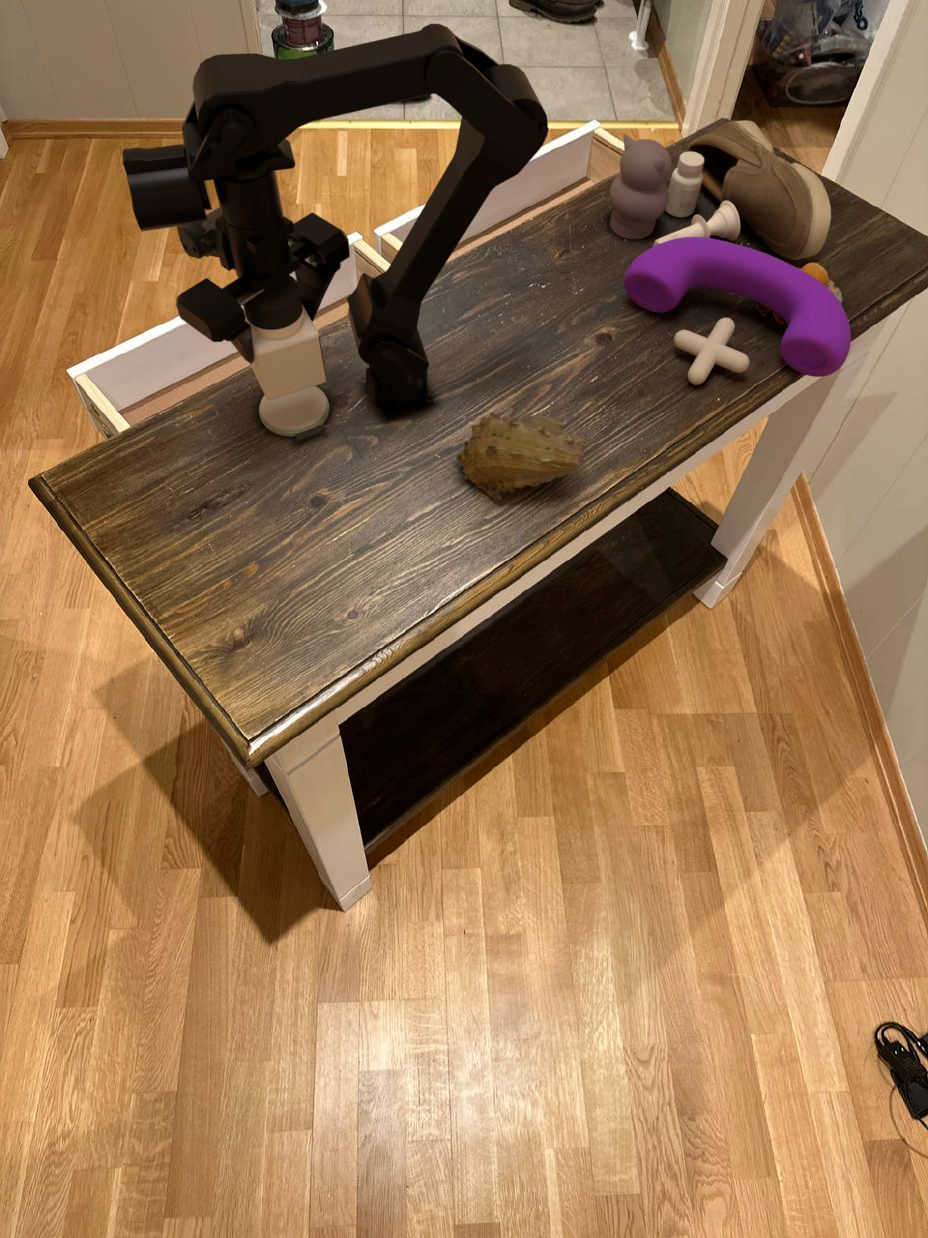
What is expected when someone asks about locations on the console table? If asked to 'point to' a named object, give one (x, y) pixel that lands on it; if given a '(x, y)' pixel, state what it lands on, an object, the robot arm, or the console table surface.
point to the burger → (818, 274)
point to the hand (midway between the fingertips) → (279, 340)
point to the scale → (296, 413)
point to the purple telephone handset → (788, 291)
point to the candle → (710, 225)
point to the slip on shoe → (765, 189)
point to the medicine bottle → (284, 341)
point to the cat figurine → (639, 188)
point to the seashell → (519, 453)
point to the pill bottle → (685, 185)
